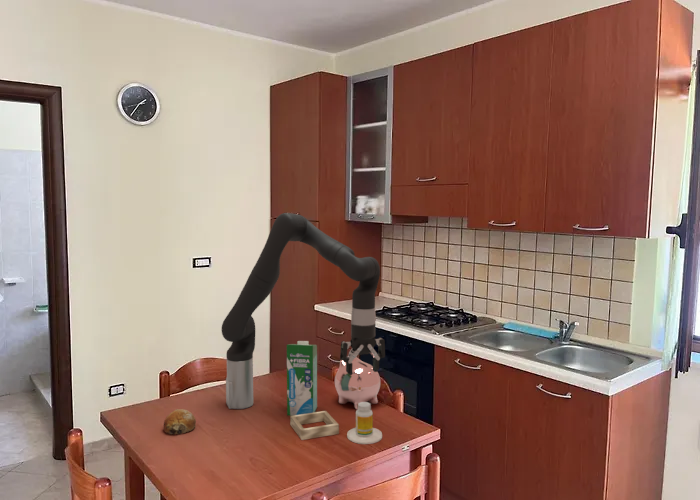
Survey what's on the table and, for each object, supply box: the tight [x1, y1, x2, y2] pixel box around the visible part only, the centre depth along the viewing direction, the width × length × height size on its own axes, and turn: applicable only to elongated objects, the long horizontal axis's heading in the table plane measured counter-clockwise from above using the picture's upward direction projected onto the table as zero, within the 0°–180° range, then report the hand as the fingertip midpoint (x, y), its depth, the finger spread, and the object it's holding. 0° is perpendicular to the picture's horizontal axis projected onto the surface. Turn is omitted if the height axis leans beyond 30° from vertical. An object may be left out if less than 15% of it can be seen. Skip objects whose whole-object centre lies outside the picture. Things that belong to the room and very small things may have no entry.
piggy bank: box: [334, 357, 381, 411], centre depth 203 cm, size 15×18×16 cm
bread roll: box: [163, 408, 197, 435], centre depth 179 cm, size 10×10×8 cm
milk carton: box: [286, 340, 318, 416], centre depth 193 cm, size 9×9×25 cm
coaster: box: [346, 427, 383, 445], centre depth 174 cm, size 11×11×1 cm
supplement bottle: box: [355, 401, 374, 437], centre depth 174 cm, size 5×5×10 cm
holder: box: [289, 410, 340, 441], centre depth 179 cm, size 12×12×3 cm
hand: (362, 372), depth 173 cm, fingers open, 8 cm apart
